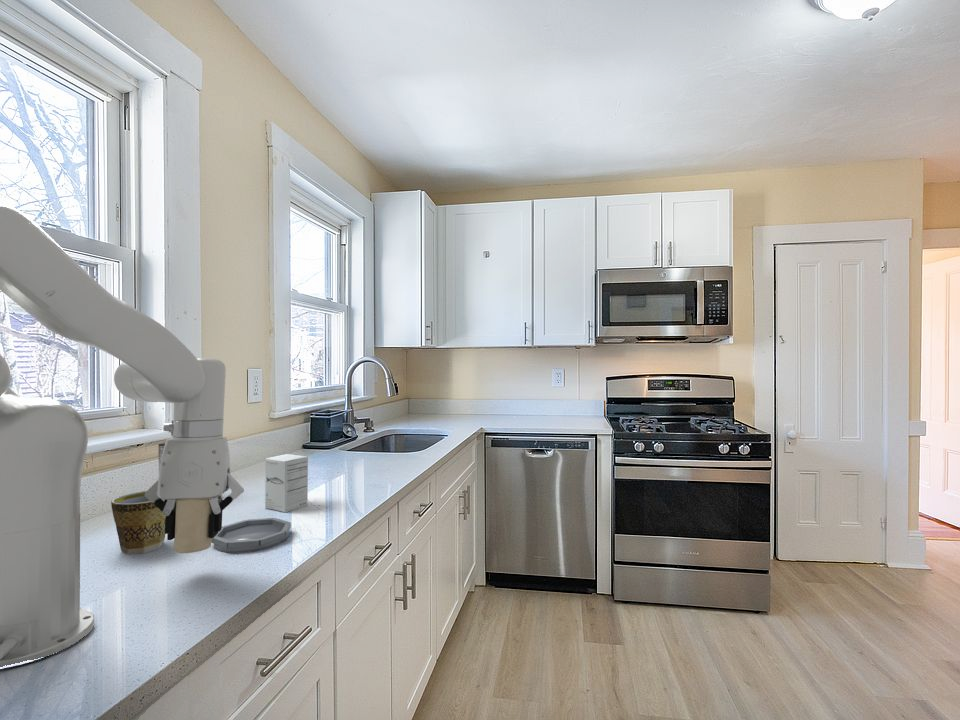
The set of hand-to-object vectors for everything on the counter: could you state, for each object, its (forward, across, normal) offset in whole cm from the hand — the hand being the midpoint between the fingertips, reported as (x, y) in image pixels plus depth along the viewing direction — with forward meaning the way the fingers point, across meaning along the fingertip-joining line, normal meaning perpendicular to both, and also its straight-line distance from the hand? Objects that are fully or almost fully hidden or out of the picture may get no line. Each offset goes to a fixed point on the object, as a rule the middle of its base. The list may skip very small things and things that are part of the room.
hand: (193, 535), depth 82 cm
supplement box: (+5, +9, +38) cm, 39 cm away
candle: (+2, 0, 0) cm, 2 cm away
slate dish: (+6, +6, +16) cm, 18 cm away
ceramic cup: (+7, -15, +17) cm, 24 cm away
